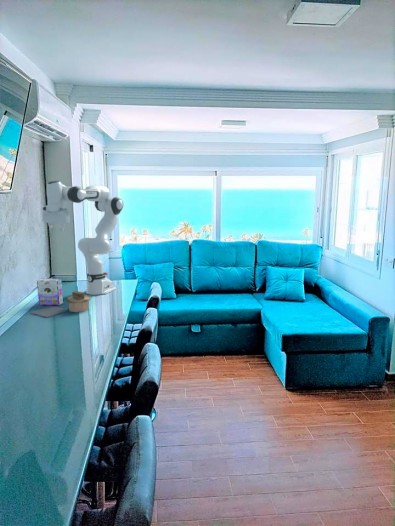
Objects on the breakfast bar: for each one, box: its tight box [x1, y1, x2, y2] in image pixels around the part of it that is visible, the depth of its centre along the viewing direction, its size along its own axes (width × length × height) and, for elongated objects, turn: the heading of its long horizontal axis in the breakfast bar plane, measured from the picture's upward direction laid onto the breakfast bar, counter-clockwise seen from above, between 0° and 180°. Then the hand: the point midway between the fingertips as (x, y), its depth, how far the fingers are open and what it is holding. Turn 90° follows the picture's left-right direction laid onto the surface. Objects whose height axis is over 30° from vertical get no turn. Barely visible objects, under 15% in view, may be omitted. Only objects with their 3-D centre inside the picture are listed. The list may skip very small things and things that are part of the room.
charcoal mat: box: [30, 305, 69, 319], centre depth 221 cm, size 15×15×1 cm
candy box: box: [36, 277, 64, 306], centre depth 234 cm, size 14×6×16 cm, turn 84°
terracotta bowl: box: [68, 301, 89, 313], centre depth 226 cm, size 11×11×6 cm
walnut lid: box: [66, 290, 91, 304], centre depth 225 cm, size 14×14×5 cm
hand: (57, 230), depth 228 cm, fingers open, 8 cm apart
